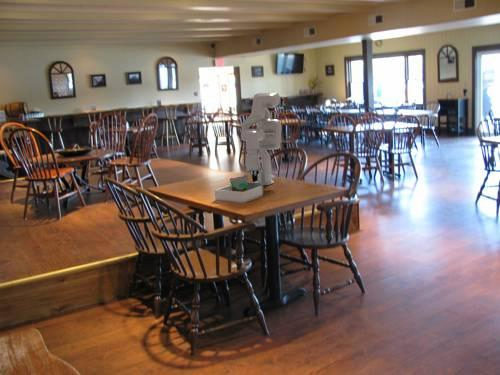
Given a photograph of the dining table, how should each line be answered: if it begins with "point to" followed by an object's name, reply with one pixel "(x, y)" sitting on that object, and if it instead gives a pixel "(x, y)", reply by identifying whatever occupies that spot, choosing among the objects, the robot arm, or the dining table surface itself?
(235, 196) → the shallow white open box
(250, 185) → the tray
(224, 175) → the dining table surface
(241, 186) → the food container
